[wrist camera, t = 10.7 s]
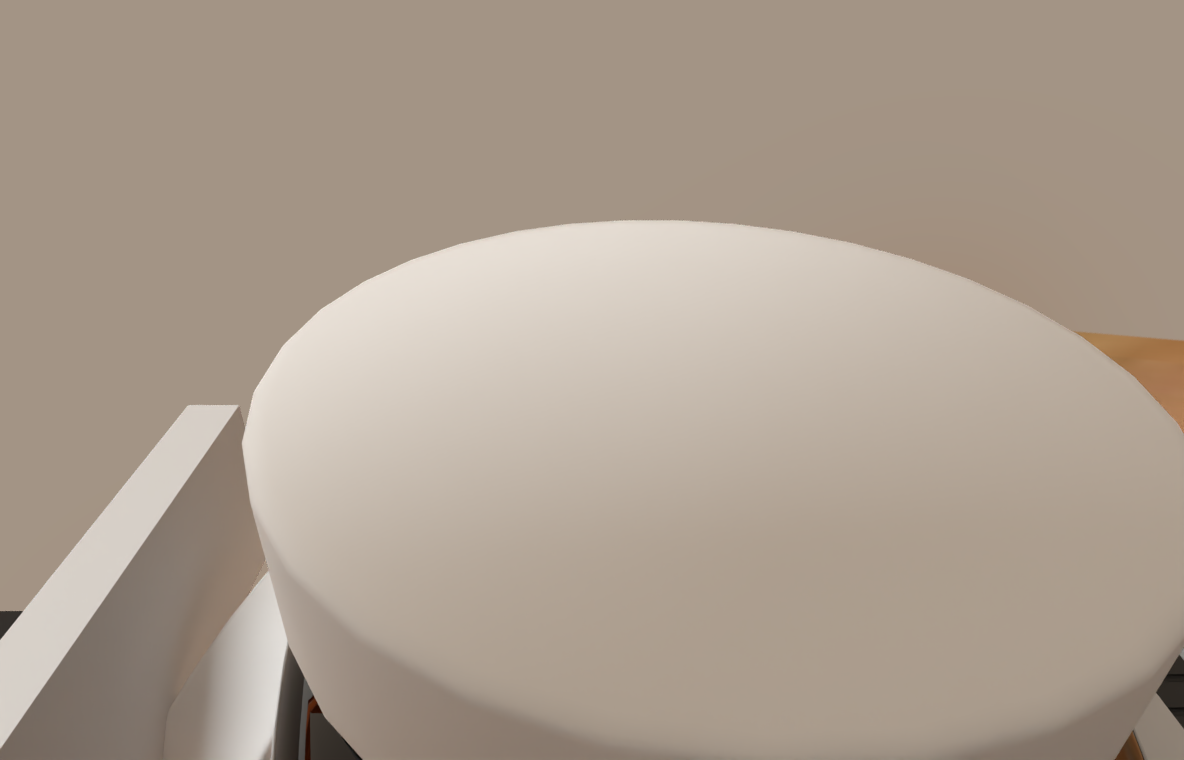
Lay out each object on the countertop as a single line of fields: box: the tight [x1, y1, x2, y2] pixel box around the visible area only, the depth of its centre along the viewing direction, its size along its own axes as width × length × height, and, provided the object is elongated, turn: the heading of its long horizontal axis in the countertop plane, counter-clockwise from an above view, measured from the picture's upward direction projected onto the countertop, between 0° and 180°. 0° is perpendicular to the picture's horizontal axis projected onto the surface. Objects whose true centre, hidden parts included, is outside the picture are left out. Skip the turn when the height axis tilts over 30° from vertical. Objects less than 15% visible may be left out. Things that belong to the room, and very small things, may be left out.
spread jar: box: [163, 220, 1184, 760], centre depth 10 cm, size 12×11×12 cm
